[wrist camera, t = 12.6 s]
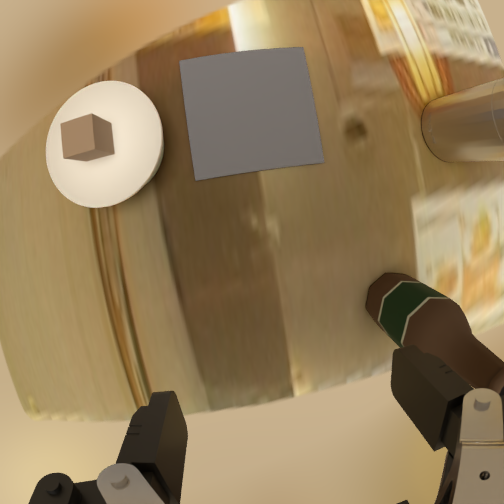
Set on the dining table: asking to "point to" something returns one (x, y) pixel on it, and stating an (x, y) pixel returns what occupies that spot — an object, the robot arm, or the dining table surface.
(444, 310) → the beer bottle
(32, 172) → the dining table surface
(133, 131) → the lid
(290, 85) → the mat
